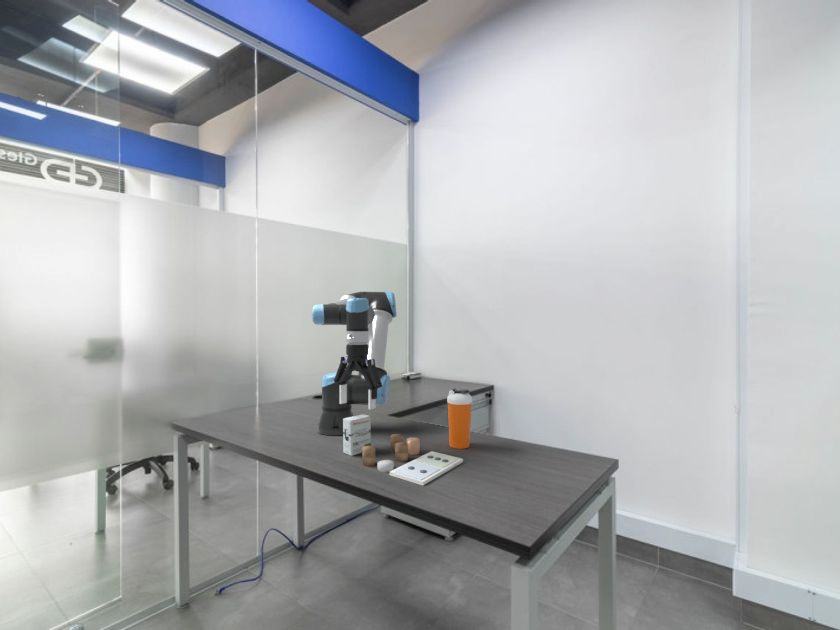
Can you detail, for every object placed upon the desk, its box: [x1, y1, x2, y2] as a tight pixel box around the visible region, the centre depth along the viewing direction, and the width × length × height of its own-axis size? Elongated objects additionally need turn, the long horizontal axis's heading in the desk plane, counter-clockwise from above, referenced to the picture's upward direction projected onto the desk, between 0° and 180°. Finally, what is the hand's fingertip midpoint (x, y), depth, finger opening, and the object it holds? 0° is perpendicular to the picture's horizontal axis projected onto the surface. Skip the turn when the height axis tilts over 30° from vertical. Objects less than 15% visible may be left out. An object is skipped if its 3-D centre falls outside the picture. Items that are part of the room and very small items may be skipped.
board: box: [389, 450, 464, 486], centre depth 127 cm, size 12×22×1 cm, turn 144°
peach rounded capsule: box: [406, 436, 421, 456], centre depth 140 cm, size 4×4×4 cm
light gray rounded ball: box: [376, 459, 395, 473], centre depth 126 cm, size 5×5×2 cm
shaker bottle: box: [446, 388, 473, 450], centre depth 148 cm, size 9×9×20 cm
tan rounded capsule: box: [361, 445, 376, 467], centre depth 130 cm, size 4×4×5 cm
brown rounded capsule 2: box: [394, 441, 409, 463], centre depth 134 cm, size 4×4×5 cm
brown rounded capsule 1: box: [390, 433, 403, 453], centre depth 143 cm, size 4×4×5 cm
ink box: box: [342, 413, 372, 457], centre depth 141 cm, size 9×5×12 cm, turn 134°
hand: (357, 406), depth 141 cm, fingers open, 13 cm apart
